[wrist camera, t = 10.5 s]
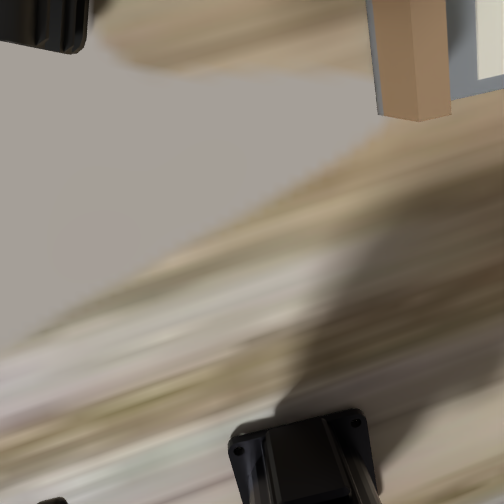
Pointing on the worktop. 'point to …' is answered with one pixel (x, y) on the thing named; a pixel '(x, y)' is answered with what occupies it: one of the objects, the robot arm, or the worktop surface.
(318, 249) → the worktop surface
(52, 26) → the end cap
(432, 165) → the worktop surface
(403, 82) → the arena
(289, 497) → the robot arm
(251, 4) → the worktop surface
